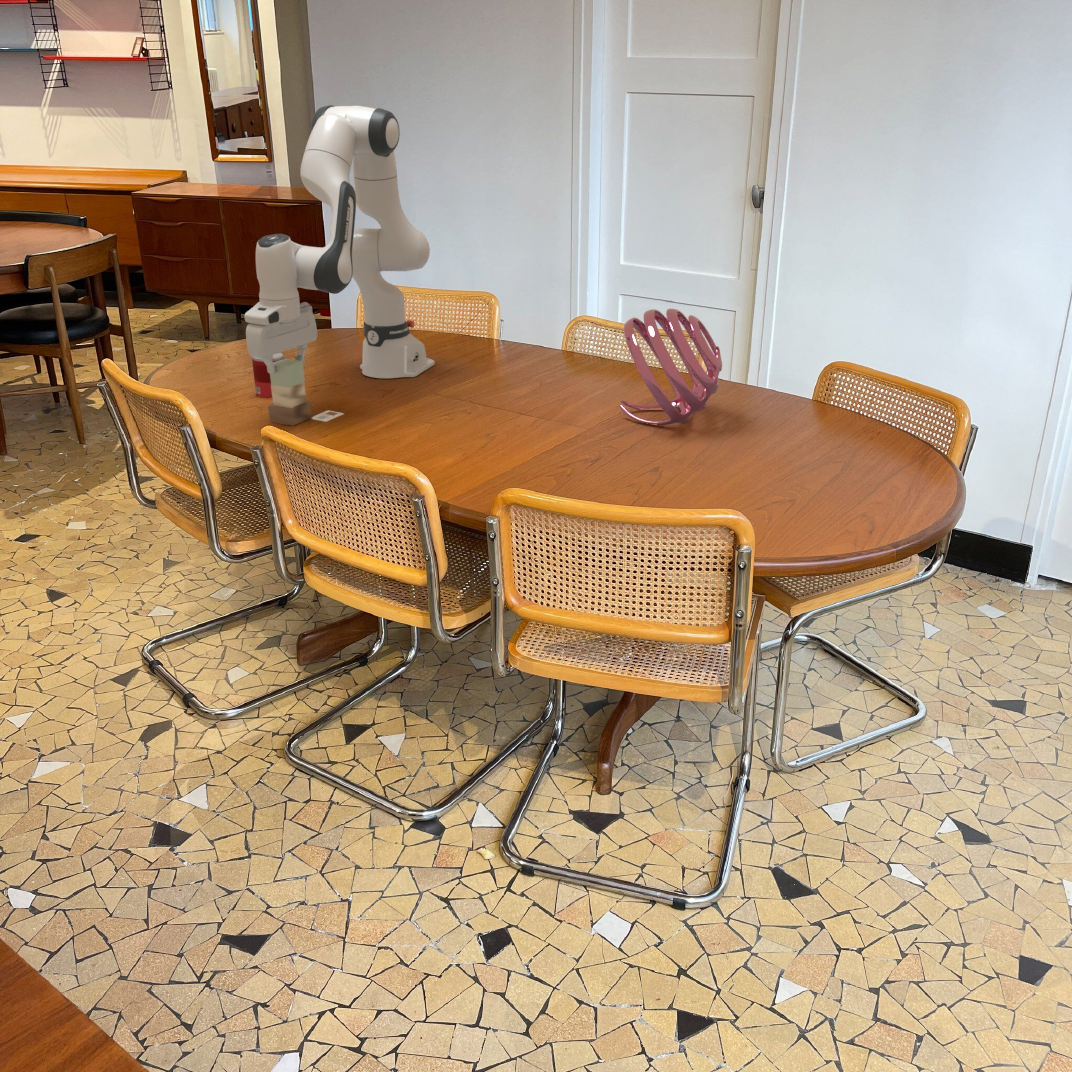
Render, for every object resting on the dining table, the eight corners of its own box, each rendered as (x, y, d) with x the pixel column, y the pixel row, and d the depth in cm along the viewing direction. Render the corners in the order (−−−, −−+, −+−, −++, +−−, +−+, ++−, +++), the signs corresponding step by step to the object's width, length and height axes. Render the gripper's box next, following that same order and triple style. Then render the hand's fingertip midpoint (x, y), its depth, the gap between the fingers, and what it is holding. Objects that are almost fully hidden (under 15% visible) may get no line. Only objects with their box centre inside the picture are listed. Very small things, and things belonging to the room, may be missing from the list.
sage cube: (287, 379, 240) (284, 358, 238) (304, 381, 238) (302, 361, 236) (271, 384, 236) (268, 364, 234) (289, 387, 233) (286, 366, 231)
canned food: (280, 402, 256) (275, 360, 252) (250, 400, 258) (246, 358, 253) (292, 393, 263) (288, 352, 258) (264, 391, 264) (259, 350, 260)
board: (293, 405, 254) (293, 401, 253) (350, 416, 246) (349, 412, 245) (242, 425, 239) (242, 420, 239) (301, 438, 231) (300, 433, 231)
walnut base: (290, 413, 245) (288, 398, 243) (312, 417, 242) (310, 401, 240) (270, 421, 239) (268, 405, 238) (292, 425, 236) (290, 409, 235)
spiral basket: (571, 344, 234) (672, 282, 224) (603, 345, 260) (695, 290, 250) (627, 450, 234) (731, 393, 224) (653, 441, 260) (748, 389, 250)
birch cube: (289, 399, 242) (286, 379, 240) (306, 402, 240) (304, 381, 238) (273, 405, 238) (270, 384, 236) (291, 408, 235) (288, 387, 233)
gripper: (300, 299, 239) (305, 355, 245) (238, 316, 223) (245, 376, 229) (320, 302, 236) (325, 359, 242) (260, 319, 220) (266, 380, 226)
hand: (286, 367), depth 236 cm, fingers open, 8 cm apart
